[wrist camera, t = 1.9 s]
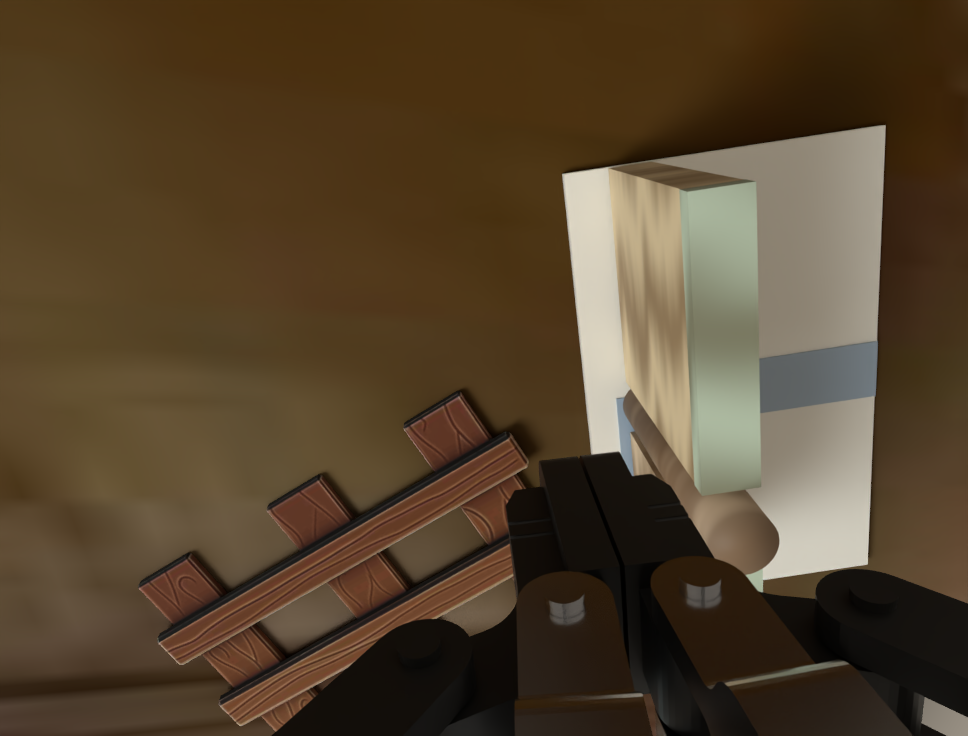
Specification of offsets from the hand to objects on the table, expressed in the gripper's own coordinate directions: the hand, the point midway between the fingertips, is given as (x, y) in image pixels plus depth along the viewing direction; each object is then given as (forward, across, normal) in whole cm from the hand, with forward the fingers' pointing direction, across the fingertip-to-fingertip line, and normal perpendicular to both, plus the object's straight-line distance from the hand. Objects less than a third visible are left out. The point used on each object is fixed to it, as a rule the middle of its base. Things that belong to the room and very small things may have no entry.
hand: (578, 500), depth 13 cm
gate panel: (+22, -7, +1) cm, 23 cm away
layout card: (+22, -11, +8) cm, 26 cm away
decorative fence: (+23, +9, +17) cm, 30 cm away
